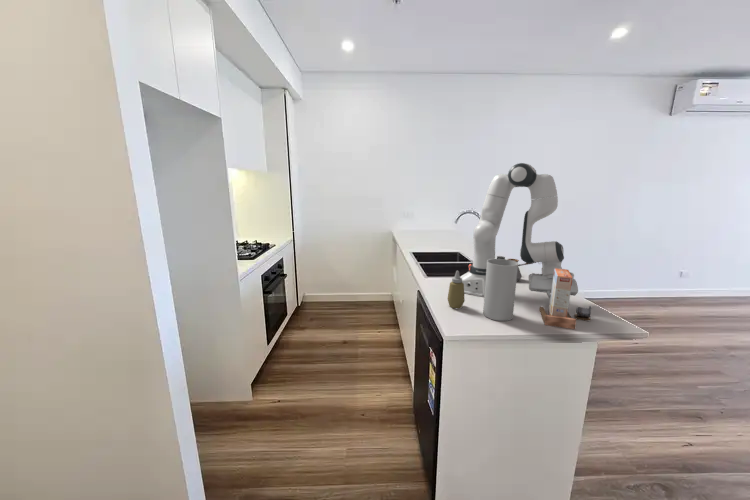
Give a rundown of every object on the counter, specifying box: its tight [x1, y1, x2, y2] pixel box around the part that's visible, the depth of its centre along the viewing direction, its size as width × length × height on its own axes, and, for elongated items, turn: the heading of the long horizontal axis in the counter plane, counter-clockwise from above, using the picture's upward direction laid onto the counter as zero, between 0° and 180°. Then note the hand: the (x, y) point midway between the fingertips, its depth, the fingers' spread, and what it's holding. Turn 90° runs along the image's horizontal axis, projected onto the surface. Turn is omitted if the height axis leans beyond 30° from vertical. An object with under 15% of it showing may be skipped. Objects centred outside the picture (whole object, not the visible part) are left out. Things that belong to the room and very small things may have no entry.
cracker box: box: [548, 268, 573, 318], centre depth 134 cm, size 14×6×21 cm, turn 154°
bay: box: [539, 306, 577, 330], centre depth 133 cm, size 11×16×4 cm
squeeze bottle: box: [447, 270, 466, 309], centre depth 146 cm, size 8×8×18 cm
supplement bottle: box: [496, 255, 506, 259], centre depth 199 cm, size 7×7×12 cm
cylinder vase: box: [482, 258, 519, 322], centre depth 135 cm, size 12×12×25 cm
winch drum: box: [573, 305, 592, 322], centre depth 133 cm, size 6×4×6 cm
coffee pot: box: [506, 258, 540, 282], centre depth 184 cm, size 21×12×15 cm, turn 42°
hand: (553, 300), depth 142 cm, fingers closed, pressing on cracker box
